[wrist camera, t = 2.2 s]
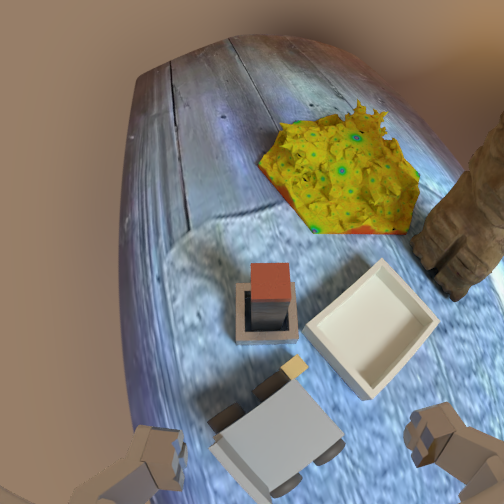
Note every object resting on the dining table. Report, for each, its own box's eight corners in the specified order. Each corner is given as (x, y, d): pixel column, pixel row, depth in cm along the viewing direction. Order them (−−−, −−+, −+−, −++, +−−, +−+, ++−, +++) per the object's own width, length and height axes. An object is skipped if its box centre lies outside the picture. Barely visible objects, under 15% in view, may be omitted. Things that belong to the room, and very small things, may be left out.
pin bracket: (295, 343, 35) (298, 338, 33) (236, 345, 35) (235, 340, 33) (292, 289, 39) (294, 282, 36) (236, 291, 39) (235, 283, 36)
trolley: (271, 492, 26) (280, 527, 16) (209, 421, 31) (190, 427, 20) (339, 440, 29) (377, 451, 19) (279, 371, 34) (291, 354, 23)
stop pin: (280, 330, 36) (291, 298, 26) (251, 331, 36) (251, 299, 26) (279, 303, 38) (288, 262, 28) (250, 303, 38) (250, 263, 28)
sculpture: (398, 249, 42) (504, 77, 15) (428, 221, 44) (518, 71, 18) (451, 309, 37) (599, 176, 11) (476, 274, 39) (594, 148, 13)
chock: (289, 382, 33) (292, 380, 31) (278, 369, 34) (280, 367, 32) (305, 369, 34) (308, 367, 32) (294, 357, 34) (297, 353, 32)
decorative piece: (349, 80, 52) (465, 178, 40) (342, 110, 59) (445, 206, 47) (234, 109, 46) (362, 246, 33) (236, 144, 53) (344, 276, 40)
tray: (362, 400, 31) (372, 399, 28) (301, 331, 36) (306, 324, 33) (427, 328, 36) (440, 321, 33) (373, 269, 40) (381, 257, 37)
